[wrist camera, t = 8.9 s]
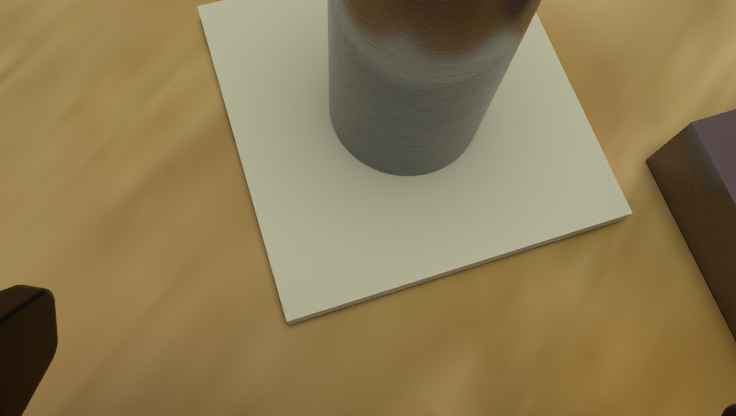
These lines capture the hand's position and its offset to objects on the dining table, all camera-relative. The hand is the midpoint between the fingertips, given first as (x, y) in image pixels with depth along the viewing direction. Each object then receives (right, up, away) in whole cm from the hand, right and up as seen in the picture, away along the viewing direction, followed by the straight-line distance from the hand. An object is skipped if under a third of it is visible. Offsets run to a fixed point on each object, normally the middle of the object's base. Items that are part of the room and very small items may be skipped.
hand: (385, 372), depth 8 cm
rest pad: (+1, +5, +10) cm, 12 cm away
